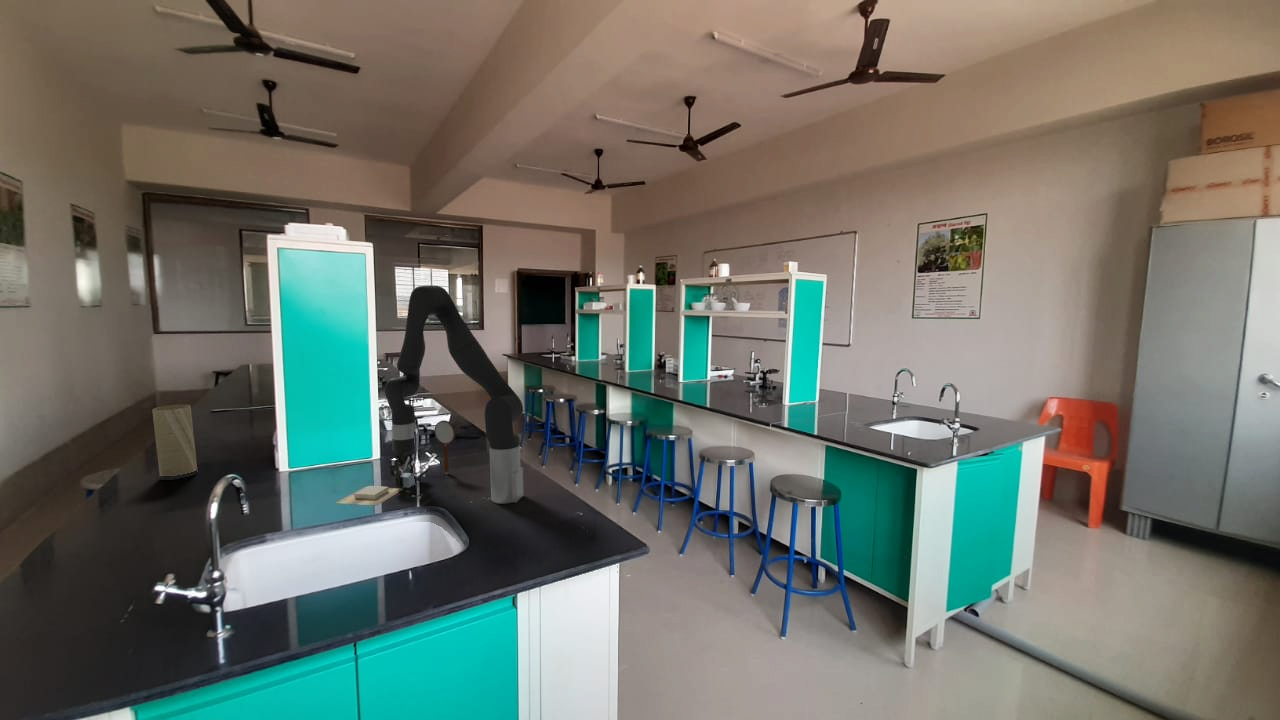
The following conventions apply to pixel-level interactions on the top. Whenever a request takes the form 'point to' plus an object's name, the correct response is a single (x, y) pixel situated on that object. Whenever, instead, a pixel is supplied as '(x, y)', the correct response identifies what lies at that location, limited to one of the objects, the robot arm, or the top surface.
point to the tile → (371, 492)
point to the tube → (174, 440)
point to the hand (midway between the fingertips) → (406, 483)
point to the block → (408, 480)
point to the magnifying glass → (445, 437)
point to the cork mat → (377, 501)
